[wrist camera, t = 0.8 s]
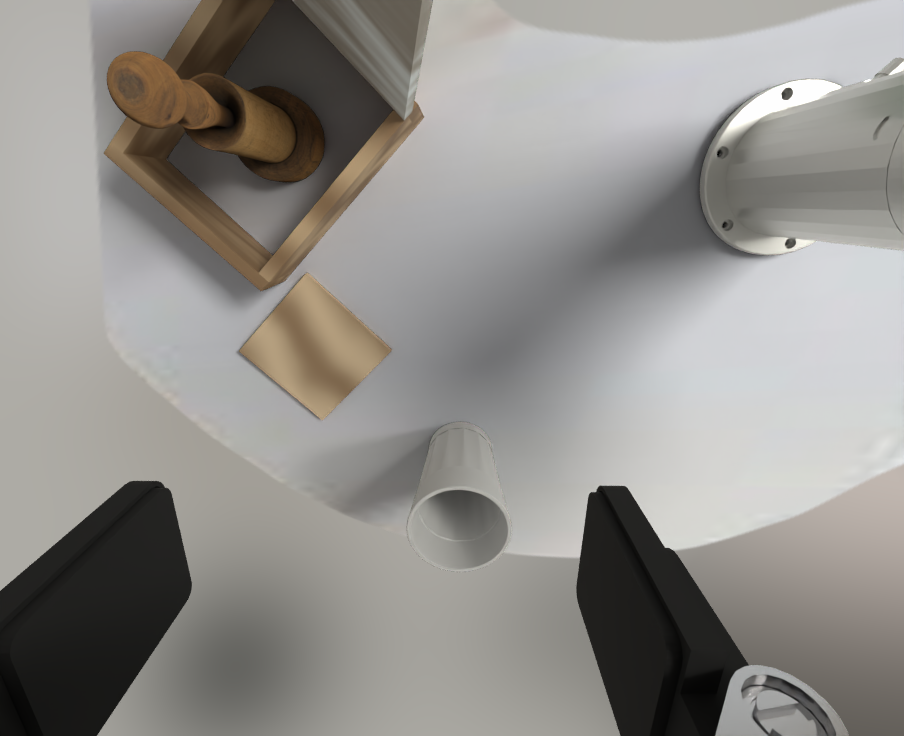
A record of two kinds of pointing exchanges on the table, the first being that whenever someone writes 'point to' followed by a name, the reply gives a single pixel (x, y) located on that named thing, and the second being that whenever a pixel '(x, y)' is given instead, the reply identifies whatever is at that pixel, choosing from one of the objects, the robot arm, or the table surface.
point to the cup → (459, 502)
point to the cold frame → (213, 51)
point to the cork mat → (315, 347)
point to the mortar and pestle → (221, 115)
